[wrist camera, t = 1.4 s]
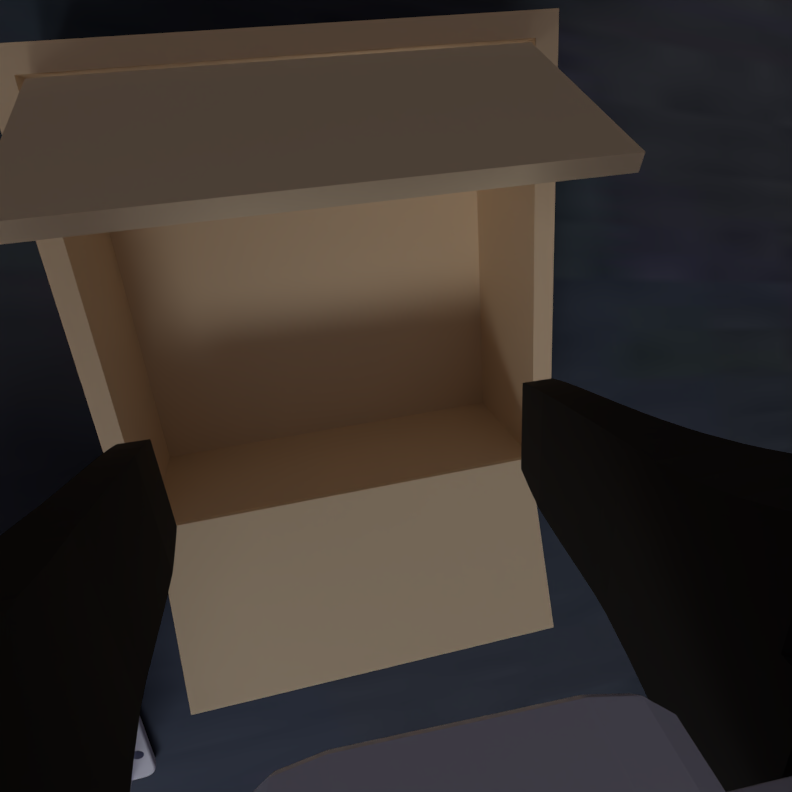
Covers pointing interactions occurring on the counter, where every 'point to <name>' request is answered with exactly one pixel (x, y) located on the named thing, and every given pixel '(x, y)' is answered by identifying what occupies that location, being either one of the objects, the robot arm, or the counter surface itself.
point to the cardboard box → (307, 301)
